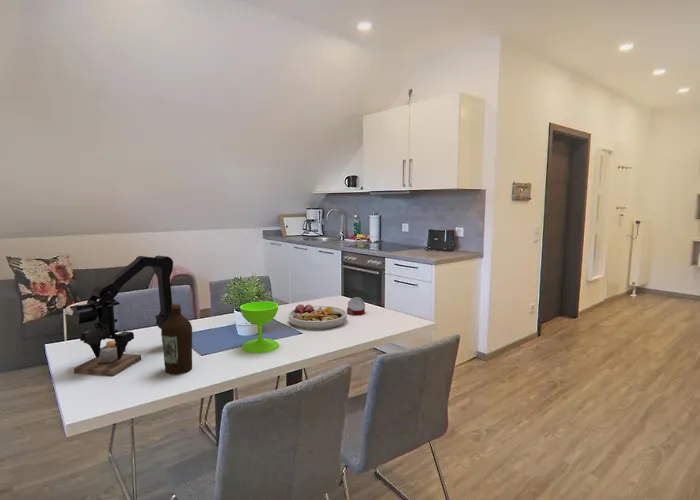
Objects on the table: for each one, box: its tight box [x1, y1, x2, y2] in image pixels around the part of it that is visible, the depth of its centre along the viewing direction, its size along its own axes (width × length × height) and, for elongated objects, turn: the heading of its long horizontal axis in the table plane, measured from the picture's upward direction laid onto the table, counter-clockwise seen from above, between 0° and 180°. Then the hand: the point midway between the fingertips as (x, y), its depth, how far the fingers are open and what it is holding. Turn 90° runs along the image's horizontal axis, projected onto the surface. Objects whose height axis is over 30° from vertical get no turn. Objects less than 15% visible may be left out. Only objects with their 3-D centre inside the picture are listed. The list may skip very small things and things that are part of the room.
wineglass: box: [239, 300, 280, 354], centre depth 184 cm, size 16×16×18 cm
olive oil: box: [160, 303, 193, 376], centre depth 159 cm, size 11×11×25 cm
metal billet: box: [100, 347, 117, 365], centre depth 163 cm, size 4×4×6 cm
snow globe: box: [346, 296, 366, 317], centre depth 239 cm, size 11×10×10 cm
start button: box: [105, 340, 117, 348], centre depth 176 cm, size 4×4×3 cm
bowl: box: [288, 303, 348, 330], centre depth 222 cm, size 30×30×8 cm
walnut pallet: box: [73, 353, 142, 377], centre depth 164 cm, size 16×16×2 cm
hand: (108, 358), depth 163 cm, fingers open, 9 cm apart
